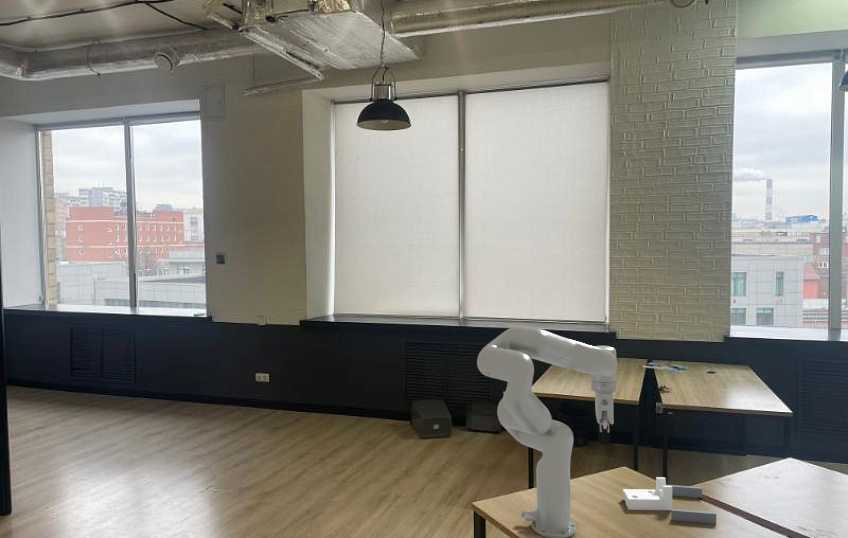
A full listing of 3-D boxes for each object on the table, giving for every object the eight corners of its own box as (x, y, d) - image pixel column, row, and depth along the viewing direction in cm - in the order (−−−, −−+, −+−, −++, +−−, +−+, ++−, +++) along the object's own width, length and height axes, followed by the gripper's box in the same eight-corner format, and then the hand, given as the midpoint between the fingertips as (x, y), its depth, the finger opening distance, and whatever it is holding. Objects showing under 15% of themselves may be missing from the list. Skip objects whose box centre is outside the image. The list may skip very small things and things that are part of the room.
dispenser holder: (671, 520, 169) (671, 510, 169) (661, 493, 187) (661, 484, 186) (716, 524, 166) (716, 514, 166) (701, 496, 184) (701, 487, 184)
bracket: (664, 500, 182) (664, 477, 182) (672, 511, 175) (672, 487, 175) (622, 499, 183) (622, 476, 183) (628, 510, 176) (628, 486, 176)
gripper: (618, 393, 171) (618, 449, 172) (613, 379, 188) (613, 430, 188) (592, 392, 173) (592, 447, 174) (590, 378, 189) (590, 429, 190)
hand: (603, 438), depth 181 cm, fingers open, 9 cm apart
